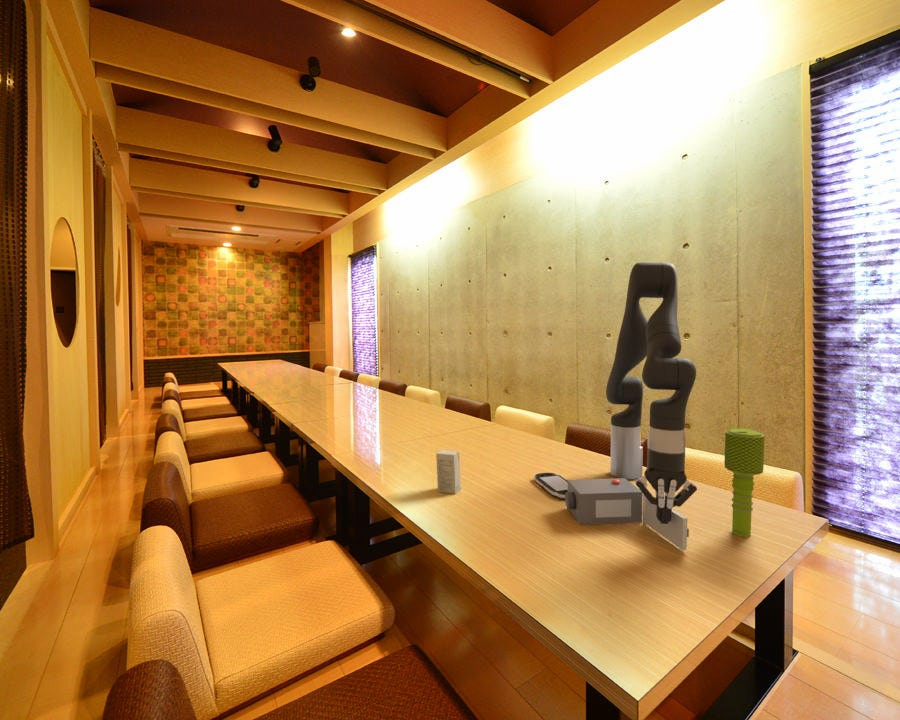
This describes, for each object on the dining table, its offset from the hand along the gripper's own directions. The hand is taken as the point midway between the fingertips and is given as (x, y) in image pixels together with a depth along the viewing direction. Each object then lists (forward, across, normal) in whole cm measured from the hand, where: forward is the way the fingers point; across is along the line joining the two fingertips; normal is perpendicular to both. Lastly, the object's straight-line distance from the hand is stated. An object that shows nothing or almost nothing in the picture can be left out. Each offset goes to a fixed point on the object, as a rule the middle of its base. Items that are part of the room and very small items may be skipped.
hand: (663, 522), depth 96 cm
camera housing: (+6, -12, +14) cm, 19 cm away
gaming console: (+6, -24, +31) cm, 40 cm away
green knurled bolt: (+6, +20, +11) cm, 23 cm away
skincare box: (+6, -56, +22) cm, 61 cm away
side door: (+5, +1, +5) cm, 7 cm away
